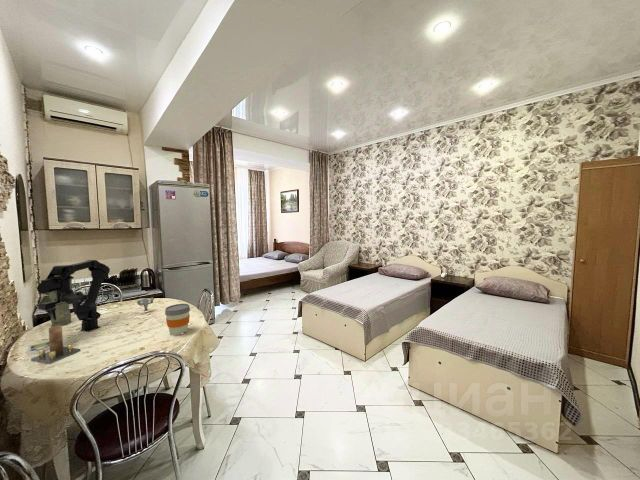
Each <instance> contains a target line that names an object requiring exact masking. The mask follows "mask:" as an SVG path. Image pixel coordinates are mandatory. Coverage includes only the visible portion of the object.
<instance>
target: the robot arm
mask: <svg viewBox="0 0 640 480" xmlns="http://www.w3.org/2000/svg"><path fill="white" fill-rule="evenodd" d="M85 269H88V271H89V272H90V276H91V278H92V279H91V283H90V286H89V289H88V292H87V294H84V293H83V292H82V291H79V292H76V293H75V292H74V290H73V289H72V290H71V284H70V279H72V280H73V279H75V277H74V276H72V275H73V274H75V273H76V272H79V271H82V270H85ZM110 270H111V268H110V267H109V266H108V265H106V264H104V263H101V262H100V261H99V260H97V259H88V260H84V261H80V262H77V263H72V264H67V265H63V264H62V265H61V264H60V265H54V266H52V269H51V270H50V271H51V272H49V273H48V275H47V277H46V278H45V279H46V280H45V279H43V280H40V283H38V284H37V287H36V290H37V292H38V293H40V294H41V295H44V294H45V295H46V293H49V292H53V291H54V293H56V299H55V301H57V302H51V301H46V302H41V303H39V304H38V305H37V308H38V310H40V311H41V310H42V311H44V312H46V313H47V314H48V315H49V317H50V319H51V318H52V319H53V320H56V313H55V310H56V308H54V307H55V306H56V305H59V304H63V303H68V304H69V305H72V310H73V311H72V312H73V314H74V315H75V316H76V317H77V320H78V321H79V322H80V321H81V324H80V326H81V329H80V332H81V331H82V332H92V331H93V330H96V329H100V328H101V326H99V325H98V322H99V321H98V320H99V319H100V318H101V315H102V314H101V313H100V312H98V311H97V309H98V308H97V305H96V302H97V299H98V296H99V293H100V290H101V287H102V283H103V280H105V279H106V278H107V277H108V275H109V274H110V272H111V271H110ZM54 276H56V277H54Z"/></svg>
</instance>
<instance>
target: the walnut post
mask: <svg viewBox="0 0 640 480" xmlns="http://www.w3.org/2000/svg"><path fill="white" fill-rule="evenodd" d="M63 339H64V338H63V326H62V325H57V326H52V325H51V326H50V327H48V341H49V345H50V350H49V352H51V351H55V353H56V355H59V354H61V353H63V346H64V340H63Z"/></svg>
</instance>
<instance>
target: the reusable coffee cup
mask: <svg viewBox="0 0 640 480" xmlns="http://www.w3.org/2000/svg"><path fill="white" fill-rule="evenodd" d="M164 310H165V311H164V313H165V321H166V325H167V328H168V332H169V335H170V336H172V335H178V336H180V335H179V334H182V333H184V332H186V331H187V332H188V329H189V328H188V327H189V323H190V315H191V314H190V311H191V309H190V304H189V303H176V304H172V305H170V306H169V305H168V306H167V307H165V309H164ZM187 332H186V333H187ZM184 334H185V333H184ZM182 335H183V334H182Z"/></svg>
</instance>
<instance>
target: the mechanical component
mask: <svg viewBox="0 0 640 480" xmlns="http://www.w3.org/2000/svg"><path fill="white" fill-rule="evenodd" d="M154 299H155V298H154V297H150V299H149V298H142V299H138V300H137V301H136V304H137V305H138V306H140V307H143V308H144V312H145V311H148V307H149V305H151V304H153V303H154Z"/></svg>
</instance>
